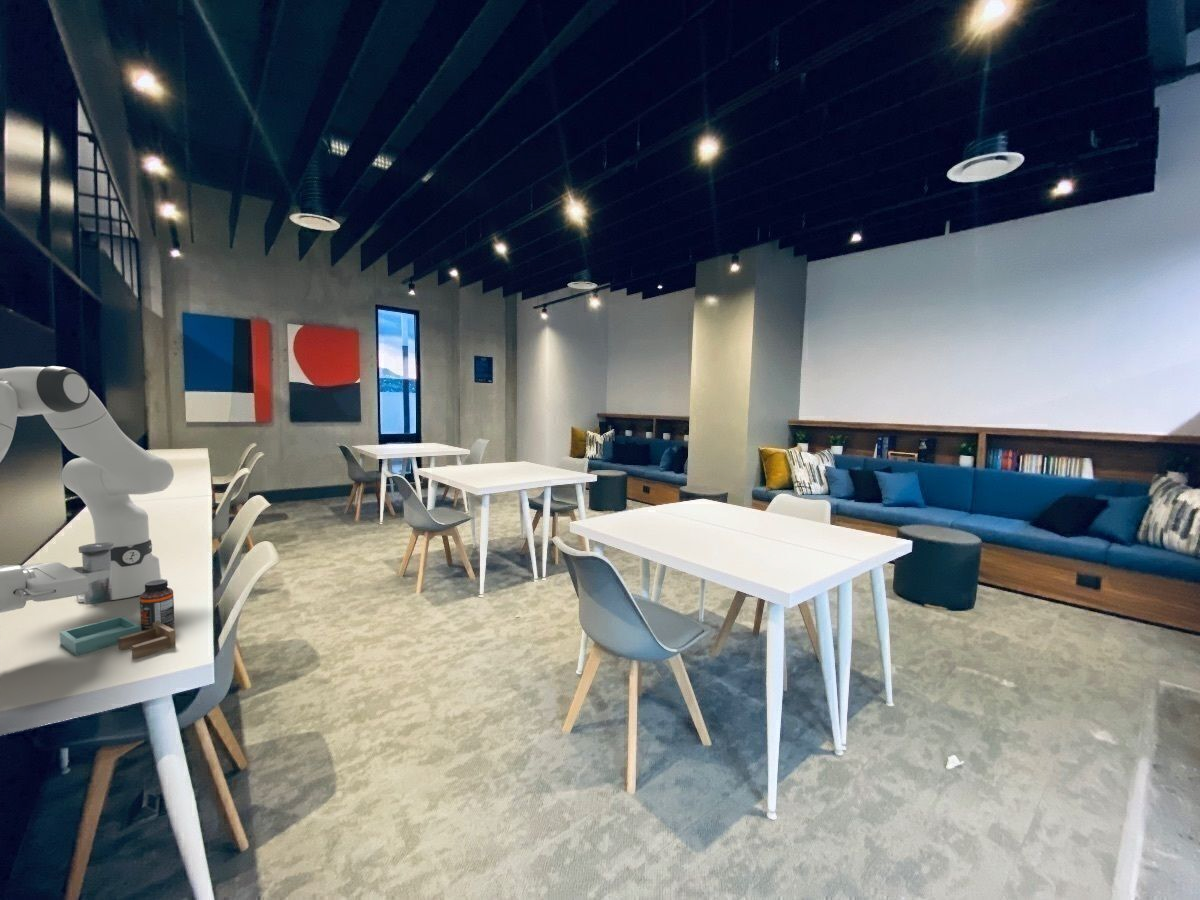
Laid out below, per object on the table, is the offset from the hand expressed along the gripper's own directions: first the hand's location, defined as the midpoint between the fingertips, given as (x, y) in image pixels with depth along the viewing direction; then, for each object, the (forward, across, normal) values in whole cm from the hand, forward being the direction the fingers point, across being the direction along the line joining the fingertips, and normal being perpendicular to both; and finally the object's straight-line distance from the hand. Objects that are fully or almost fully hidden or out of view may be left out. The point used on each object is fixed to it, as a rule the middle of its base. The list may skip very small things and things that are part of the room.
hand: (103, 571), depth 111 cm
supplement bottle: (+8, -3, +16) cm, 18 cm away
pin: (-1, 0, +6) cm, 7 cm away
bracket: (+3, -13, +16) cm, 20 cm away
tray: (-1, 0, +16) cm, 16 cm away
